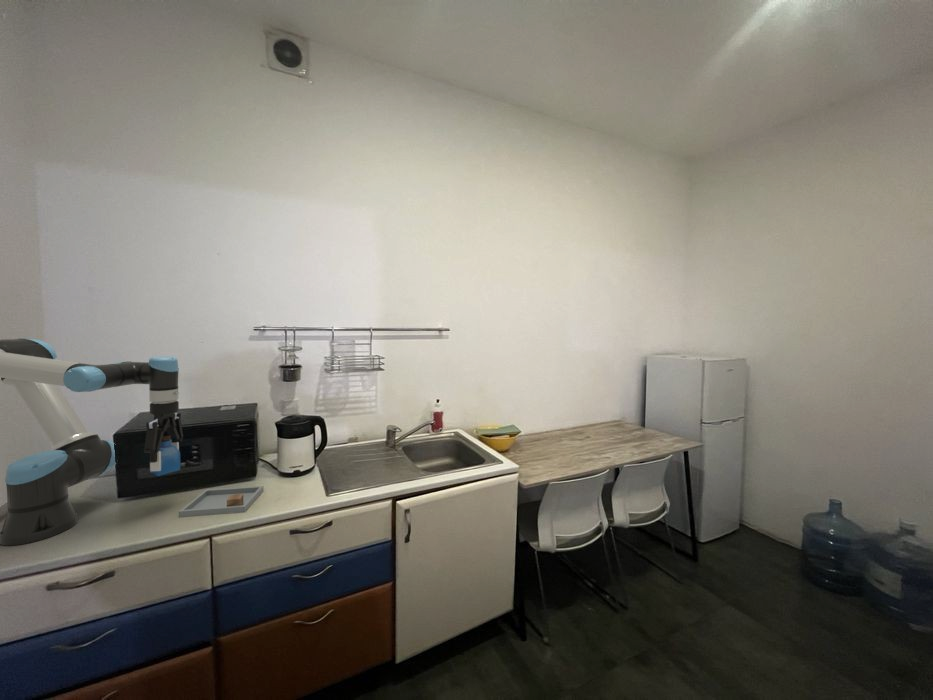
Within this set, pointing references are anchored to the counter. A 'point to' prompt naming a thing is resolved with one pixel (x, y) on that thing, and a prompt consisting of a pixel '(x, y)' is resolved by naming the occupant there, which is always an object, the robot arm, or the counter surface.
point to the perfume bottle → (168, 457)
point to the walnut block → (235, 500)
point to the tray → (220, 501)
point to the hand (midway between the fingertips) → (165, 465)
